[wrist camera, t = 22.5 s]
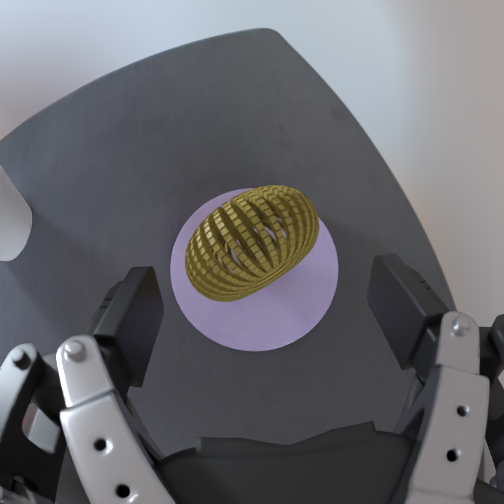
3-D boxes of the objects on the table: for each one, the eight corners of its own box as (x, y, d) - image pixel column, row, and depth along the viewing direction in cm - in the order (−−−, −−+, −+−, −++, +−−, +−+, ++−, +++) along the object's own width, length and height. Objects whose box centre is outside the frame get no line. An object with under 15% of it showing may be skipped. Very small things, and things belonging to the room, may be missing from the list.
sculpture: (285, 213, 20) (300, 146, 13) (316, 258, 19) (353, 209, 12) (189, 270, 19) (150, 227, 12) (219, 319, 18) (193, 307, 11)
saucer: (323, 191, 22) (325, 185, 21) (342, 342, 19) (346, 342, 18) (177, 199, 22) (173, 193, 21) (175, 352, 19) (171, 352, 18)
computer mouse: (74, 392, 17) (45, 398, 13) (146, 520, 14) (131, 542, 10) (24, 404, 16) (-3, 408, 12) (86, 519, 13) (68, 534, 9)
